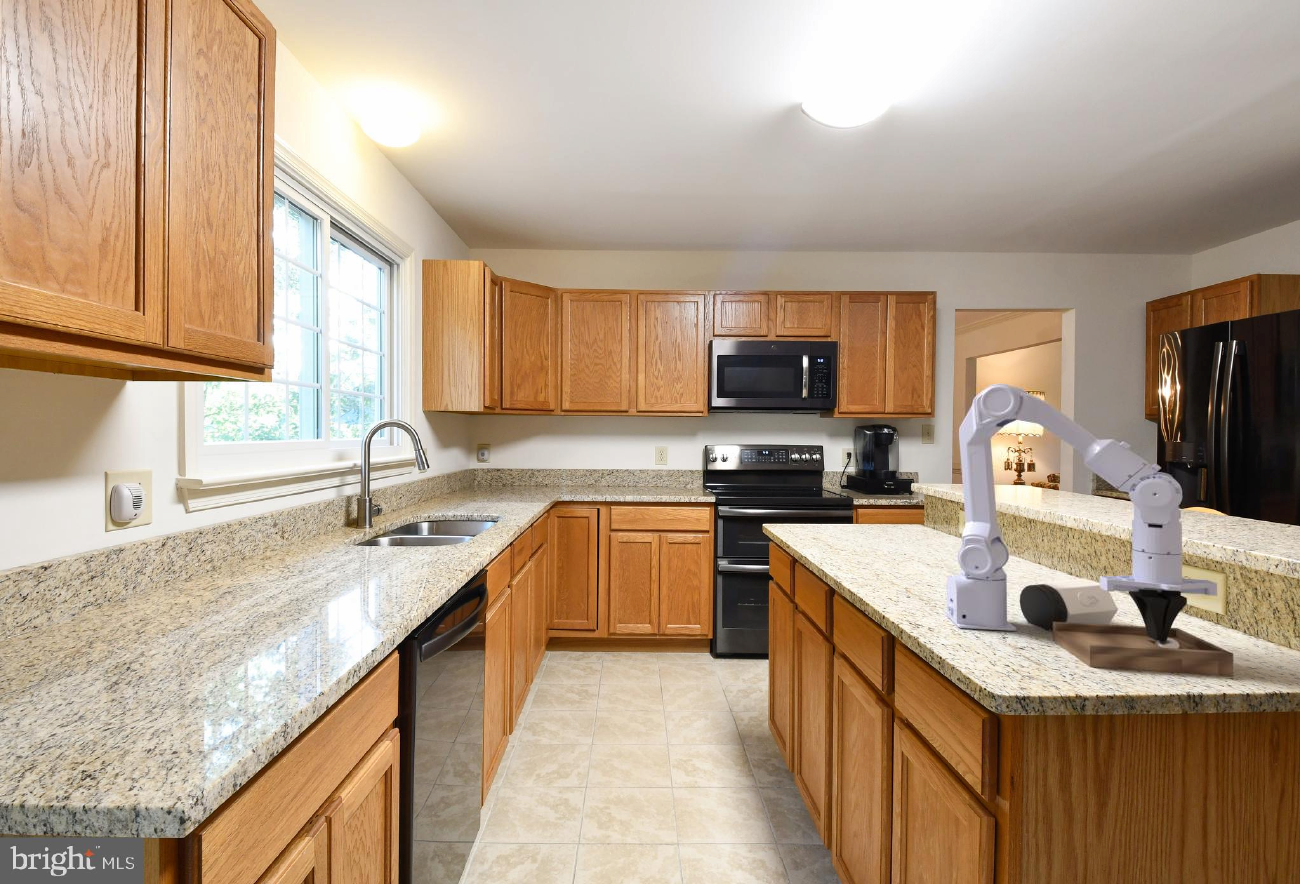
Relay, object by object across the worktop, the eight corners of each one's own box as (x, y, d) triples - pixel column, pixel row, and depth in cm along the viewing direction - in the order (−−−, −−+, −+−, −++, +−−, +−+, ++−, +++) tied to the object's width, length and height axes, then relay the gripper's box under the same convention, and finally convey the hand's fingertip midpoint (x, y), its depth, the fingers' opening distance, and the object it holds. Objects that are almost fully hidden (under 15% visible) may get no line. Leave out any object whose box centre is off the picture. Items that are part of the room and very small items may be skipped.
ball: (1168, 665, 85) (1160, 644, 85) (1154, 657, 88) (1146, 637, 88) (1191, 659, 84) (1183, 639, 84) (1176, 652, 87) (1168, 632, 87)
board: (1090, 666, 83) (1089, 645, 83) (1052, 640, 94) (1052, 621, 94) (1233, 676, 80) (1233, 653, 80) (1177, 647, 90) (1177, 628, 90)
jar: (1126, 622, 97) (1063, 628, 96) (1091, 631, 104) (1032, 637, 103) (1101, 571, 101) (1040, 577, 100) (1068, 584, 108) (1011, 589, 107)
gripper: (1118, 555, 84) (1119, 645, 84) (1233, 558, 81) (1234, 651, 81) (1091, 546, 91) (1092, 629, 91) (1196, 548, 88) (1197, 634, 88)
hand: (1157, 638), depth 86 cm, fingers closed
